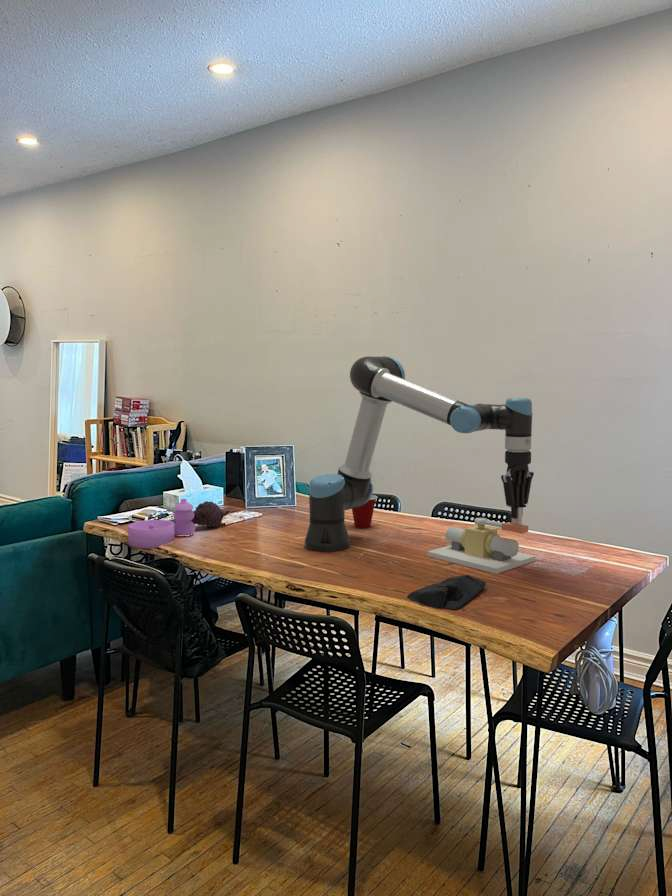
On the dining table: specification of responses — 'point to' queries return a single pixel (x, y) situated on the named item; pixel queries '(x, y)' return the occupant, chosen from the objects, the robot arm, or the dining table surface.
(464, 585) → the black crumpled cloth
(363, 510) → the plastic cup
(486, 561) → the pipe board
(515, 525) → the valve lever
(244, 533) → the dining table surface
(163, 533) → the container set
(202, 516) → the pine cone
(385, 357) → the robot arm
